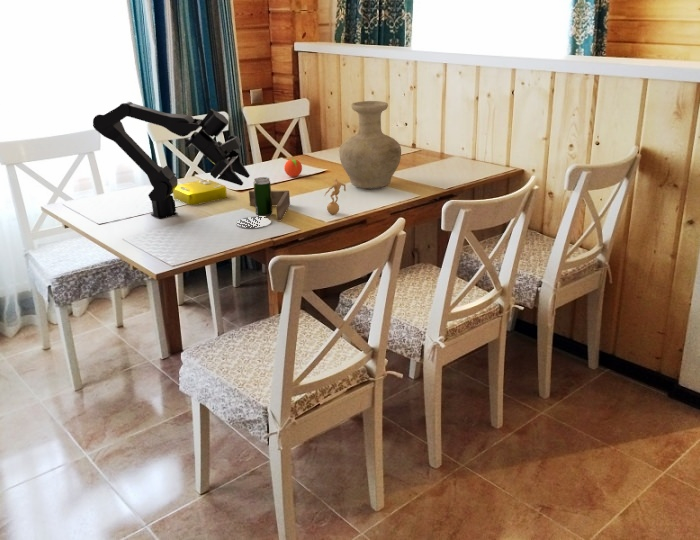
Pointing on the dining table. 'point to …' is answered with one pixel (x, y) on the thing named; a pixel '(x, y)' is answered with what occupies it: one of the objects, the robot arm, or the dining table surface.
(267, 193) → the beer can
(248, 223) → the coaster
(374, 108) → the vase
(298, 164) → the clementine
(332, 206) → the figurine
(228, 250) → the dining table surface
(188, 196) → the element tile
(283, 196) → the corner niche
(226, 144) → the robot arm
